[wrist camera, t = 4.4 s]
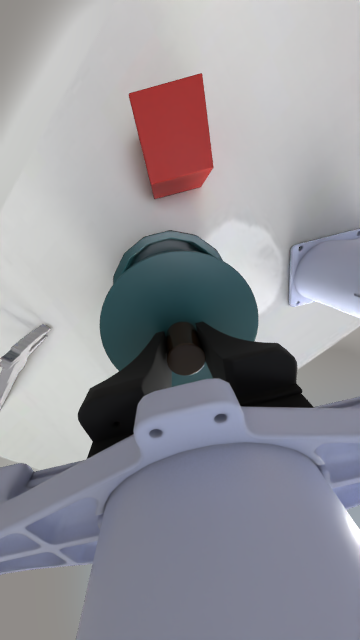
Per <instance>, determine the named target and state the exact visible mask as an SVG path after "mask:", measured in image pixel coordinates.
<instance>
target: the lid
mask: <svg viewBox="0 0 360 640" xmlns="http://www.w3.org/2000/svg"><path fill="white" fill-rule="evenodd" d="M199 322H205V323H206V324H208V325H209V326H211V327H213V328H214V329H216V330H218V331H220V332H222V333H224V334H227V335H229V336H232V337H235V338H239V339H243V340H247V341H253V342H254V341H255V338H256V335H257V329H258V309H257V304H256V301H255V297H254V295H253V293H252V290H251V288H250V287H249V285H248V284H247V282H246V281H245V279H244V278H243V277H242V276H241V275H240V274H239V273H238V272H237V271H236V270H235V269H234V268H232V267H231V266H230V265H229V264H227V263H225V262H224V261H222V260H220V259H218V258H215V257H213V256H211V255H208V254H204V253H200V252H195V251H185V250H183V251H169V252H164V253H159V254H156V255H153V256H150V257H148V258H146V259H144V260H142V261H140V262H138V263H136V264H135V265H134V266H132V267H131V268H129V269H128V270H127V271H126V272H124V273H123V274H122V275H121V276H120V277H119V278H118V279H117V281H116V282H115V283H114V284H113V286H112V287H111V289H110V291H109V292H108V294H107V296H106V298H105V301H104V303H103V306H102V311H101V315H100V334H101V339H102V343H103V346H104V349H105V351H106V354H107V355H108V357H109V359H110V360H111V362H112V363H113V364H114V366H115V367H116V368H117V369H118V370H119V371H121V370H122V369H123V368H124V367H126V366H127V365H128V364H129V363H131V362H132V361H133V360H134V359H135V358H136V357H137V356H138V355H139V354H140V353H141V352H142V350H143V349H144V348H145V347H146V346H147V344H148V343H149V342H150V340H151V339H152V337H153V336H154V335H155V333H158V332H162V331H164V333H165V337H166V349H167V365H168V367H169V368H170V370H171V371H172V387H174V386H179V385H183V384H187V383H191V382H195V381H200V380H204V379H213V377H212V375H211V373H210V370H209V368H208V366H207V364H206V362H205V360H206V356H205V352H204V350H203V347H202V344H201V341H200V339H199V336H198V333H197V330H196V325H195V323H199Z"/></svg>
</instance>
